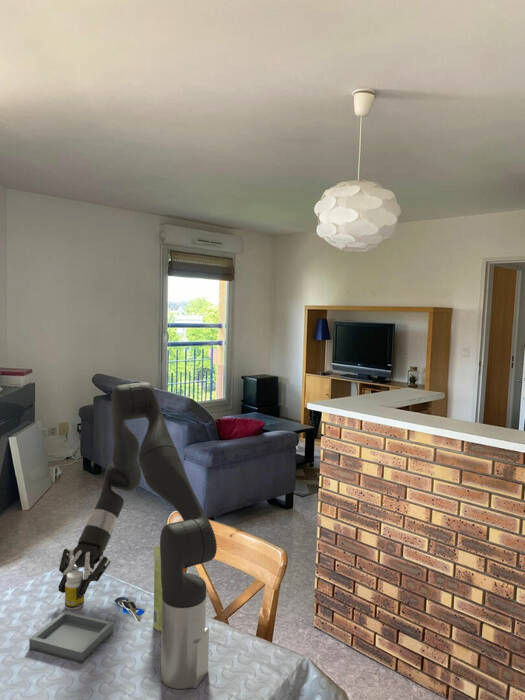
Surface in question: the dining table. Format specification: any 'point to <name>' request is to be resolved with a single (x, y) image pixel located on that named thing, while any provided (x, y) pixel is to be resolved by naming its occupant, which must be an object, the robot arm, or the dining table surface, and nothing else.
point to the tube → (157, 590)
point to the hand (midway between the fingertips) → (70, 593)
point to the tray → (71, 636)
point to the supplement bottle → (73, 590)
